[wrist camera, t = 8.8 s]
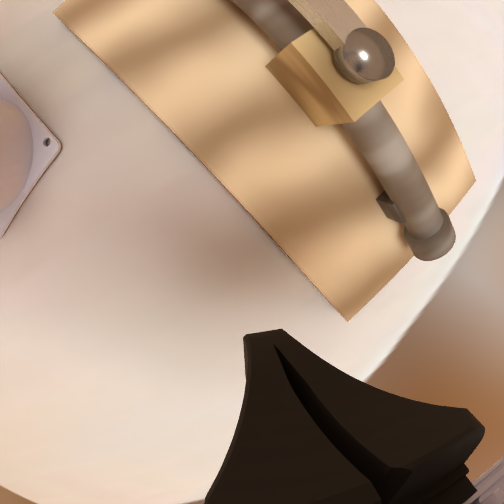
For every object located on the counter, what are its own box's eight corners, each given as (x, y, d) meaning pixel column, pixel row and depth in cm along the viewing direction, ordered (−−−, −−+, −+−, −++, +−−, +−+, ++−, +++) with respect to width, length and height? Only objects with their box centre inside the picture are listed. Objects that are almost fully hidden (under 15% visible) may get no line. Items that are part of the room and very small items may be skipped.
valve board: (60, 20, 11) (24, -16, 6) (253, -92, 10) (273, -135, 5) (338, 311, 22) (377, 355, 17) (463, 177, 21) (514, 190, 16)
